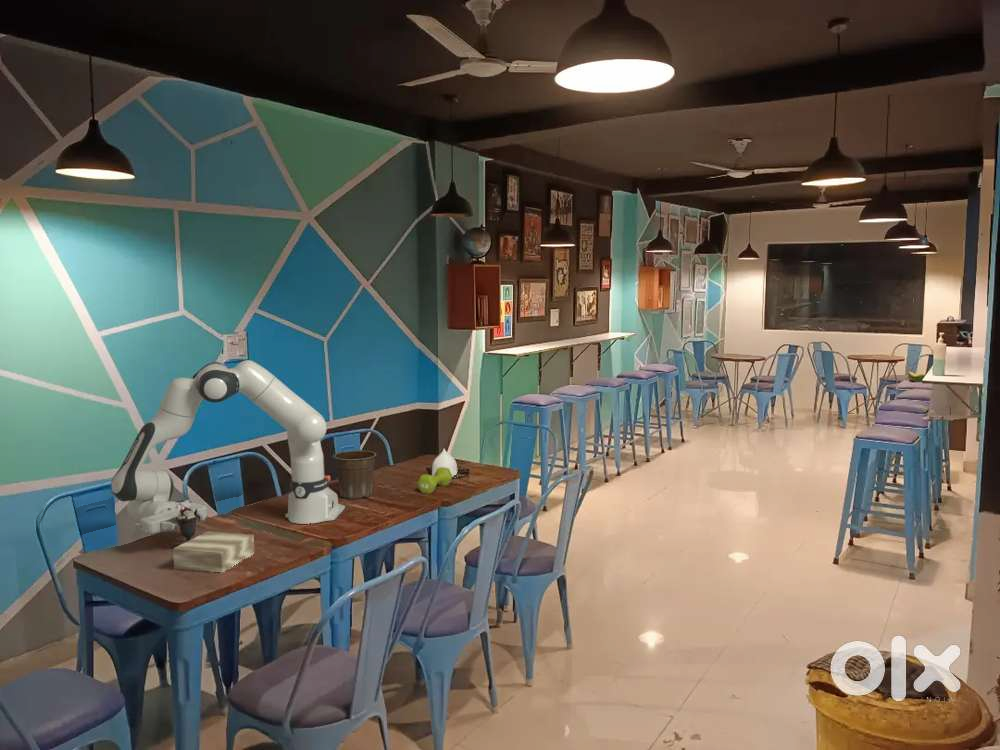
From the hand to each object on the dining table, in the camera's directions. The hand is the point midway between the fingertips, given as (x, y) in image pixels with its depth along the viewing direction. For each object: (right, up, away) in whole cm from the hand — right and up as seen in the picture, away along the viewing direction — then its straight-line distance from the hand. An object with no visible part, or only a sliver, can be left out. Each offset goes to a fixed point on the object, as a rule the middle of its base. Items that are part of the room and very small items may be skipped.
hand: (189, 522), depth 232 cm
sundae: (-1, -9, +1) cm, 9 cm away
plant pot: (+40, -1, +60) cm, 72 cm away
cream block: (+12, -9, -10) cm, 18 cm away
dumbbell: (+71, 0, +67) cm, 97 cm away
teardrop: (+73, +3, +88) cm, 114 cm away
